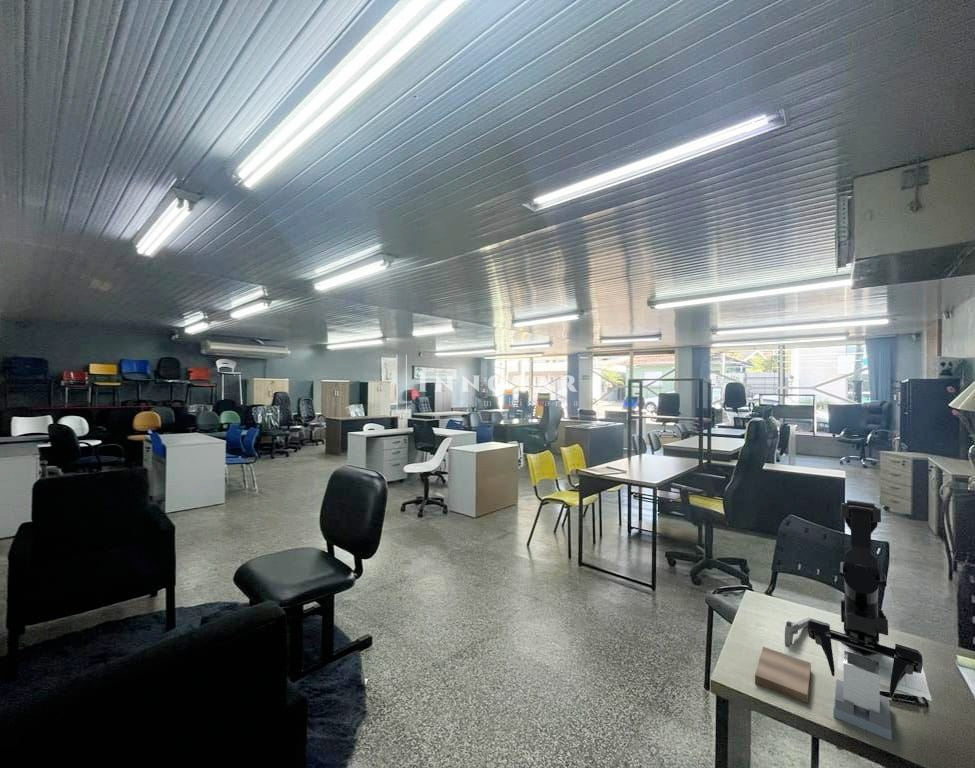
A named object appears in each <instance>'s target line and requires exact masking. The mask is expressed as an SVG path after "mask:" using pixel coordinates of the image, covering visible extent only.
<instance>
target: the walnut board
mask: <svg viewBox="0 0 975 768" xmlns="http://www.w3.org/2000/svg"><path fill="white" fill-rule="evenodd" d="M811 664H812V663H811V662H809V661H807V660H804V659H801V658H798V657H796V656H792V655H790V654H786V653H783V652H780V651H777V650H773V649H771V648H768V647H765V646H762V650H761V653H760V657H759V660H758V663H757V666H756V671H755V674H754V684H756V685H759V686H760V687H764V688H766V689H769V690H770V691H774V692H776V693H779V694H782V695H784V696H786V697H789V698H791V699H794V700H797V701H800V702H803V703H805V704H808V703H809V701H808V700H809V692H810V681H811V671H812V670H811V669H812V665H811Z"/></svg>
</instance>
